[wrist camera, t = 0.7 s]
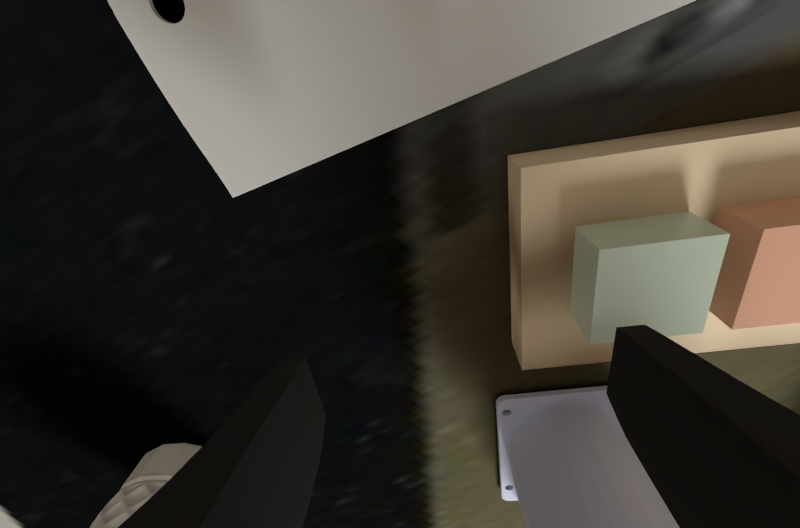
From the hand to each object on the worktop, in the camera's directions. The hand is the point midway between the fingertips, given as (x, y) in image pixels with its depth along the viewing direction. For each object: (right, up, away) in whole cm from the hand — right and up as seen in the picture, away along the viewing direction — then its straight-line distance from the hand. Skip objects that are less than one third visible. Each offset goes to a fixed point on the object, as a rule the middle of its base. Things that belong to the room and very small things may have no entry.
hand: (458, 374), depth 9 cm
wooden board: (+10, +4, +7) cm, 13 cm away
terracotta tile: (+12, +3, +5) cm, 14 cm away
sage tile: (+7, +3, +6) cm, 10 cm away
